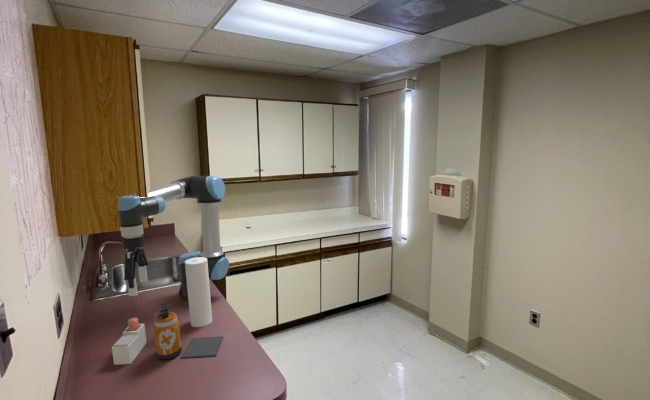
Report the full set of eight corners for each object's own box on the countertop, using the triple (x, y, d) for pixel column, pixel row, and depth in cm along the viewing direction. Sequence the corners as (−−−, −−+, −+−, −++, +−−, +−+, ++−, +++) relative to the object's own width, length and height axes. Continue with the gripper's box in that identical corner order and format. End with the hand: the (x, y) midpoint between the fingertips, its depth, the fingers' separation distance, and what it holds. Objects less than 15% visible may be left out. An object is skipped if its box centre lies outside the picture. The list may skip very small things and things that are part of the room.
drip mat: (191, 339, 145) (191, 338, 145) (223, 337, 146) (223, 336, 146) (181, 358, 132) (181, 356, 132) (215, 356, 133) (215, 354, 133)
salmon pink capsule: (132, 336, 141) (130, 317, 140) (141, 335, 141) (139, 317, 140) (128, 340, 138) (125, 322, 136) (137, 340, 138) (135, 321, 137)
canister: (156, 363, 129) (150, 313, 126) (157, 347, 139) (152, 301, 136) (182, 357, 133) (177, 308, 130) (181, 342, 143) (176, 296, 140)
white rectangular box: (132, 343, 143) (129, 324, 142) (147, 342, 143) (144, 323, 142) (114, 364, 129) (111, 343, 128) (130, 363, 130) (128, 342, 128)
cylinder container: (205, 328, 154) (199, 263, 149) (186, 326, 156) (180, 262, 151) (216, 317, 163) (211, 256, 158) (198, 316, 165) (192, 255, 160)
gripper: (132, 229, 144) (138, 277, 147) (109, 245, 120) (116, 303, 123) (151, 227, 146) (157, 275, 149) (133, 243, 122) (139, 300, 125)
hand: (138, 288), depth 136 cm, fingers open, 13 cm apart
